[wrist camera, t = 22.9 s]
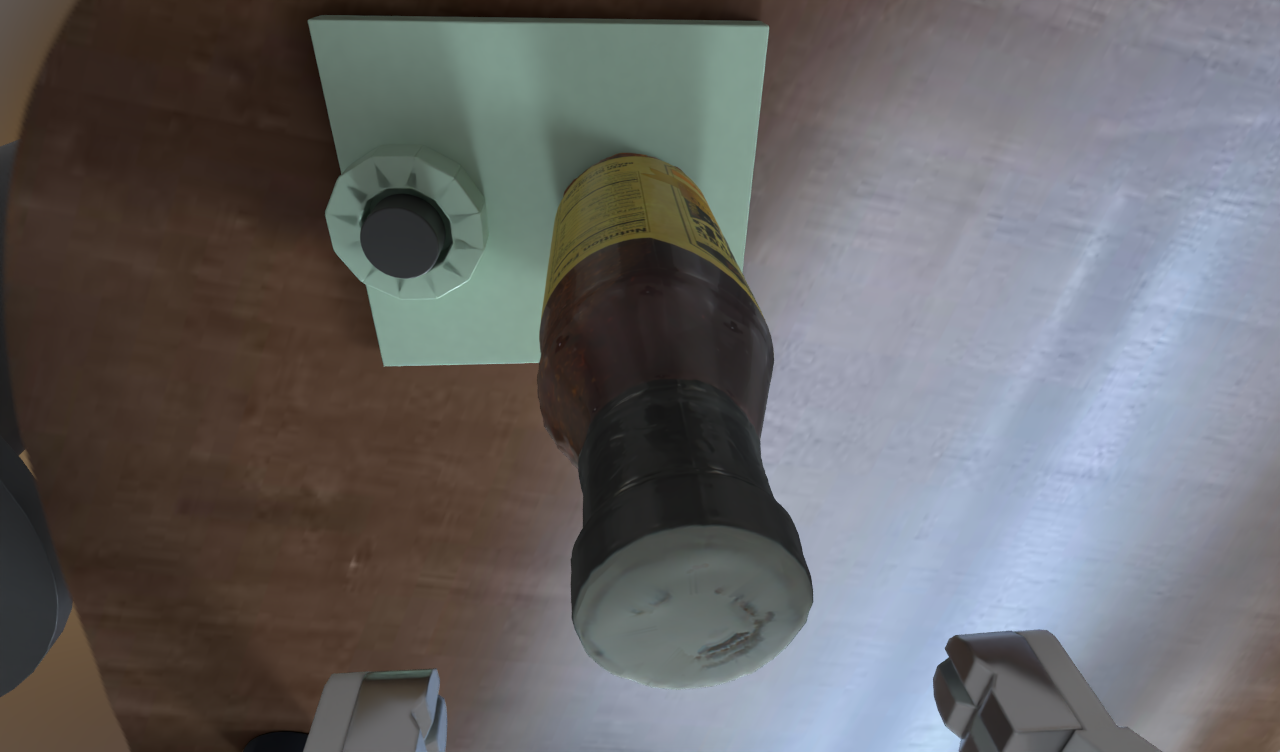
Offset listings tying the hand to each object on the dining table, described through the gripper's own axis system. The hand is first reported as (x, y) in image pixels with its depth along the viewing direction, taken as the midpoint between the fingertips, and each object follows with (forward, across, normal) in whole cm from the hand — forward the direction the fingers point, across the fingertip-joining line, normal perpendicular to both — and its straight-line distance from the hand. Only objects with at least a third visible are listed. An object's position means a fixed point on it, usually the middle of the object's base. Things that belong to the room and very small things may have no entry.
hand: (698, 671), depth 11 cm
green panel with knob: (+22, +3, 0) cm, 22 cm away
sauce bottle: (+21, 0, 0) cm, 21 cm away
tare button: (+19, +8, 0) cm, 21 cm away
